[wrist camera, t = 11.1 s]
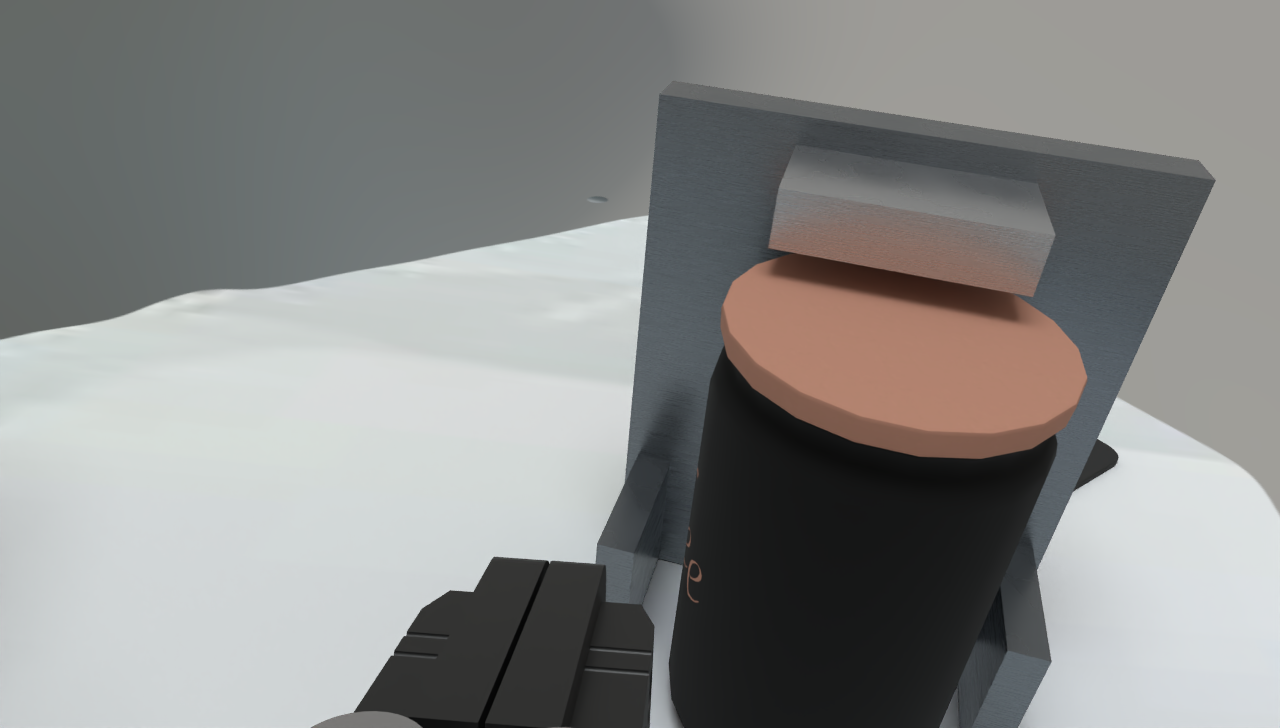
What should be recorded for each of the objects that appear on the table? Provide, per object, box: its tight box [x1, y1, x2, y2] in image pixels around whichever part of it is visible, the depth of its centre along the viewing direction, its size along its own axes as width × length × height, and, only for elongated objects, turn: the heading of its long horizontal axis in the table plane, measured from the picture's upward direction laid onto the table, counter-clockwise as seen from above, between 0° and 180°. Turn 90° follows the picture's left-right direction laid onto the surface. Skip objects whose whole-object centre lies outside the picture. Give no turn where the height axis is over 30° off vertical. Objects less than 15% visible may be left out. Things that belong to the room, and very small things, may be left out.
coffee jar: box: [669, 253, 1087, 728], centre depth 31 cm, size 11×11×18 cm
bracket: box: [596, 81, 1215, 728], centre depth 33 cm, size 8×18×22 cm, turn 74°
